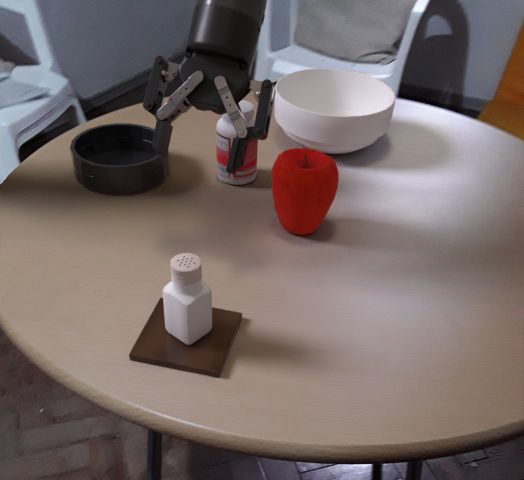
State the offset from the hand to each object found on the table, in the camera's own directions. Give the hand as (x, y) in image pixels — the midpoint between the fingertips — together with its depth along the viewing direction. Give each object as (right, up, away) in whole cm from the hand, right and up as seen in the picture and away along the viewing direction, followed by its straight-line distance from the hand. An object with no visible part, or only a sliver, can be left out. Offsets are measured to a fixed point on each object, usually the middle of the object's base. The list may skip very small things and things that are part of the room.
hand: (195, 164), depth 71 cm
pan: (-14, +6, +25) cm, 29 cm away
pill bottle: (+4, +6, +26) cm, 27 cm away
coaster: (-1, -20, -1) cm, 20 cm away
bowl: (+19, +15, +36) cm, 44 cm away
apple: (+13, -4, +17) cm, 21 cm away
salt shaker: (-1, -19, -1) cm, 19 cm away
